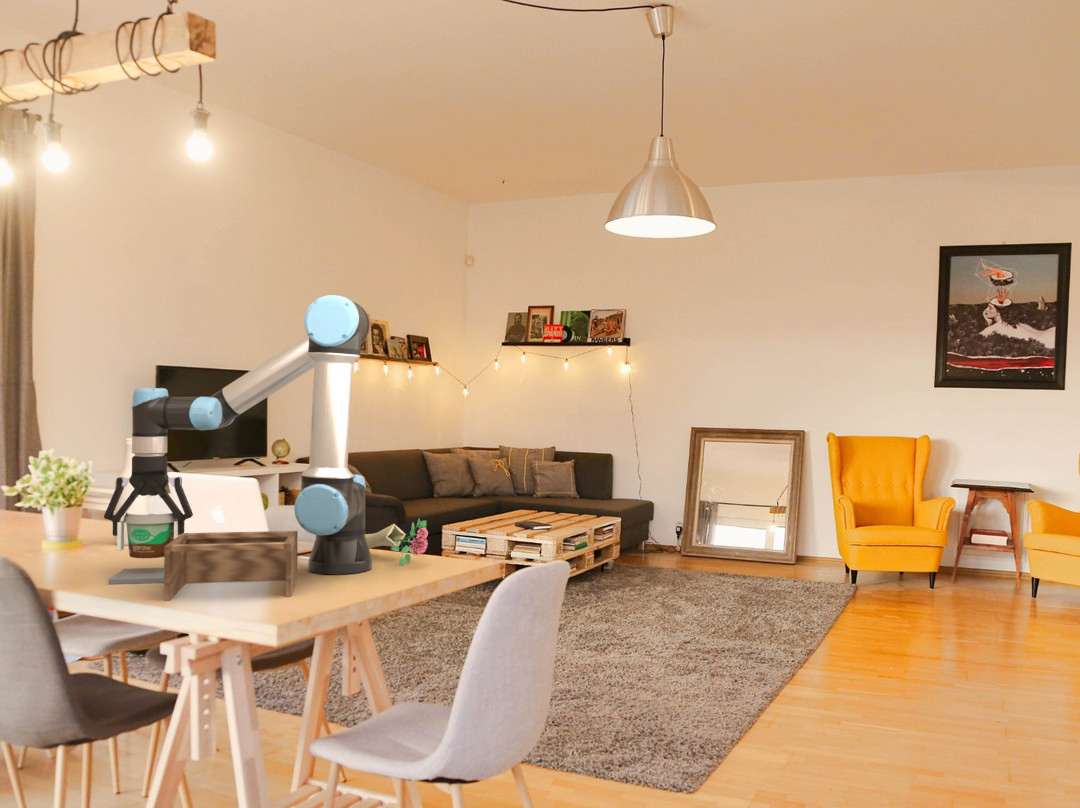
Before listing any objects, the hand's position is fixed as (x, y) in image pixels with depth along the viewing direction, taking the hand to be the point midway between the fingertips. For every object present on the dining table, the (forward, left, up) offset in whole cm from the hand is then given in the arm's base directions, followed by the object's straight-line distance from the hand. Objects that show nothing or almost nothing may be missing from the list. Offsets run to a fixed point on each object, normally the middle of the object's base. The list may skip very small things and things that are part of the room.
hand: (148, 549), depth 215 cm
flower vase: (-55, -15, -7) cm, 58 cm away
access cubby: (-21, +17, -6) cm, 28 cm away
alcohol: (+16, -55, -7) cm, 58 cm away
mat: (0, 0, -6) cm, 6 cm away
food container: (0, 0, -2) cm, 2 cm away
